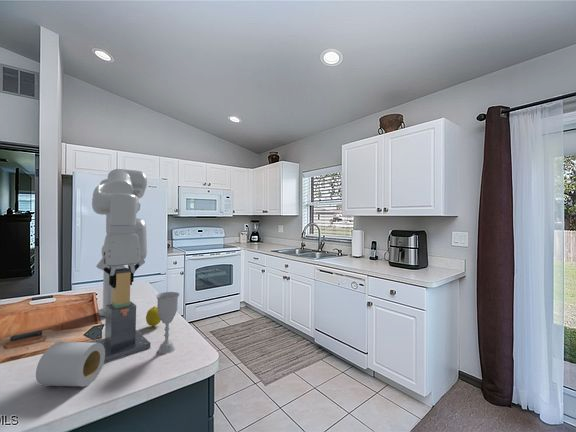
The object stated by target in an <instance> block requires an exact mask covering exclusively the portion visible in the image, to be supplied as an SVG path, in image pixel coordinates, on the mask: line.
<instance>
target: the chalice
mask: <svg viewBox="0 0 576 432" xmlns="http://www.w3.org/2000/svg"><path fill="white" fill-rule="evenodd" d="M179 296H180V293H179V292H177V291H176V292H174V291H165V292H160V293H158V294H156V295H155V297H156V299H157V311H158V314H159V317H160V319H161V321H160V322H162V323H163V324H164V325H165V327H164V331H165V333H164V334H163V336H164V338H165V339H164V341H162V343H160V345H159V347H158V348H159V349H158V350H157V352H158V353H159V354H169V353H172V352H173V351H175V348H176V347H175V345H174V343H173V341H171V340H170V339H169V336H171V334H170V333H169V331H170V330H171V329H170V327H169V324H171V323H172V322H173V320H174V319H175V316H176V314H177V311H178V307H179V306H178V303H179V302H178V299H179Z"/></svg>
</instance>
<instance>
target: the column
mask: <svg viewBox="0 0 576 432" xmlns="http://www.w3.org/2000/svg"><path fill="white" fill-rule="evenodd" d="M115 275H116V287H115V288H113V299H112V307H113V308H114V309H117V308H121V307H126V306H130V301H131V285H130V275H131V270H130V269H128V267H126V268H121V269H116V270H115Z"/></svg>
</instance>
